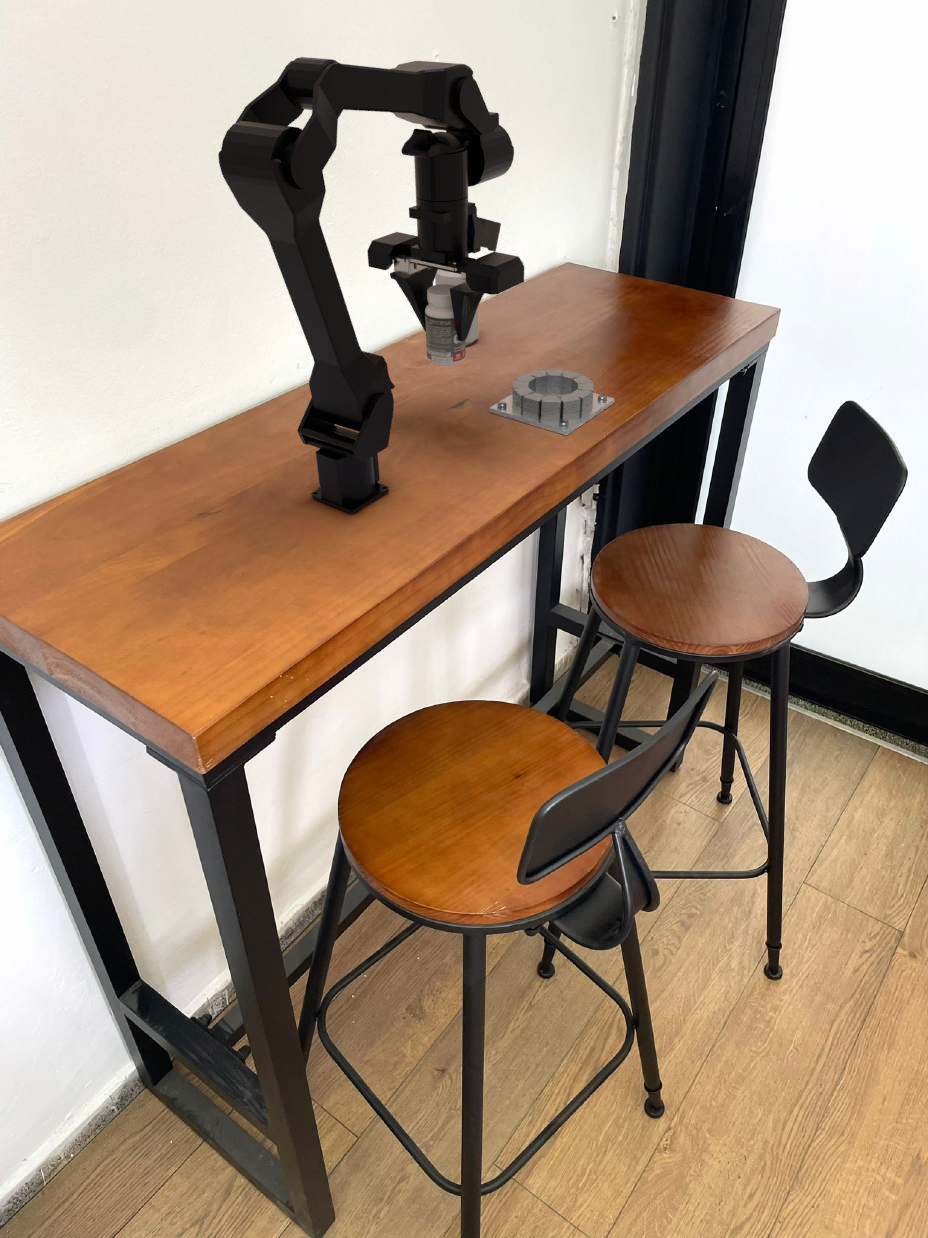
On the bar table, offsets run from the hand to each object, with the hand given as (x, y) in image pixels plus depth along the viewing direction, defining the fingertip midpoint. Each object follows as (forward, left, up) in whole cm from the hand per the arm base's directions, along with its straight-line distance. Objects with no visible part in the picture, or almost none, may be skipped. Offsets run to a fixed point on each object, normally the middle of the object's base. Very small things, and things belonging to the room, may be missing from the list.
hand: (445, 335), depth 110 cm
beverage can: (+26, +18, -13) cm, 34 cm away
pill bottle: (0, 0, -3) cm, 3 cm away
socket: (+14, -7, -12) cm, 20 cm away
